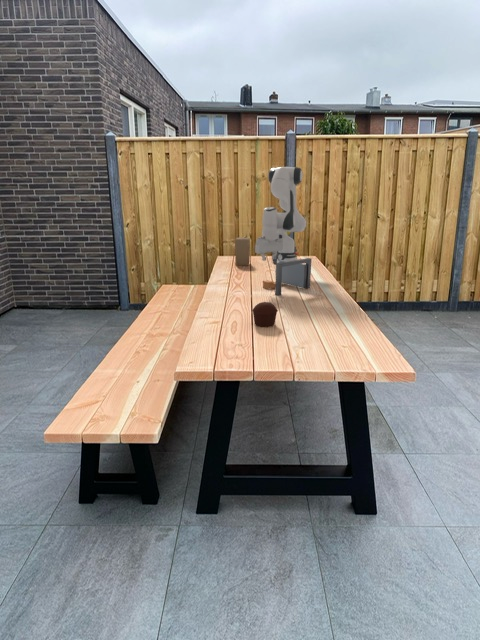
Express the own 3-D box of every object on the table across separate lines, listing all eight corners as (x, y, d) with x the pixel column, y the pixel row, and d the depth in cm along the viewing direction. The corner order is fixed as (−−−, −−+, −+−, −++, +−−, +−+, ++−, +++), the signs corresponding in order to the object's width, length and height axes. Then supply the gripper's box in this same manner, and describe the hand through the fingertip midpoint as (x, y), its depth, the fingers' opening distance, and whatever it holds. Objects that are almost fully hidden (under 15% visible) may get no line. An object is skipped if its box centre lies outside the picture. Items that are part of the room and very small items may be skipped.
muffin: (266, 330, 198) (266, 308, 195) (246, 324, 205) (247, 303, 202) (282, 324, 207) (283, 302, 204) (263, 319, 214) (263, 298, 211)
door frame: (306, 287, 275) (308, 258, 270) (309, 288, 273) (311, 258, 268) (275, 294, 258) (276, 263, 252) (278, 295, 256) (279, 263, 251)
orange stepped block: (268, 289, 271) (268, 282, 270) (262, 287, 275) (263, 281, 274) (282, 286, 279) (282, 279, 278) (276, 284, 282) (277, 278, 281)
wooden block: (249, 263, 349) (249, 237, 343) (248, 266, 340) (248, 239, 334) (236, 263, 350) (236, 237, 344) (235, 265, 341) (235, 239, 335)
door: (306, 288, 272) (307, 264, 267) (304, 288, 271) (305, 265, 267) (280, 281, 287) (280, 259, 283) (278, 282, 286) (279, 260, 282)
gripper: (260, 238, 256) (259, 262, 260) (285, 235, 269) (284, 258, 273) (252, 236, 261) (252, 260, 265) (277, 234, 274) (277, 257, 278)
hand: (268, 259), depth 269 cm, fingers open, 6 cm apart
